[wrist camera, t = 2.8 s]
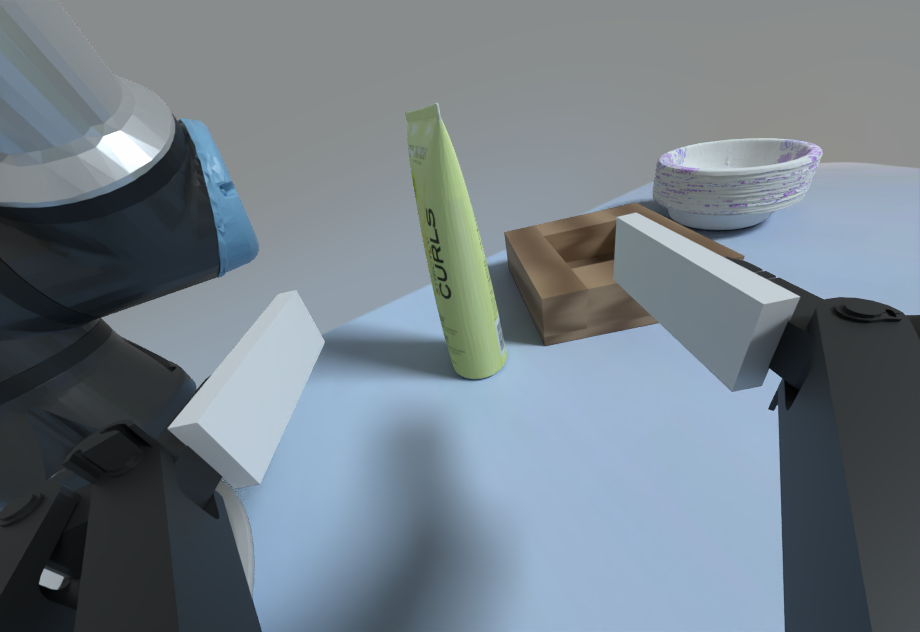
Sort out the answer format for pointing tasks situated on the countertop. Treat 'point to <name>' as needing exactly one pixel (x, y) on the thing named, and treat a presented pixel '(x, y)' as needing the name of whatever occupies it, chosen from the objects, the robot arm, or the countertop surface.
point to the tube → (454, 249)
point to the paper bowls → (734, 181)
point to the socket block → (582, 273)
